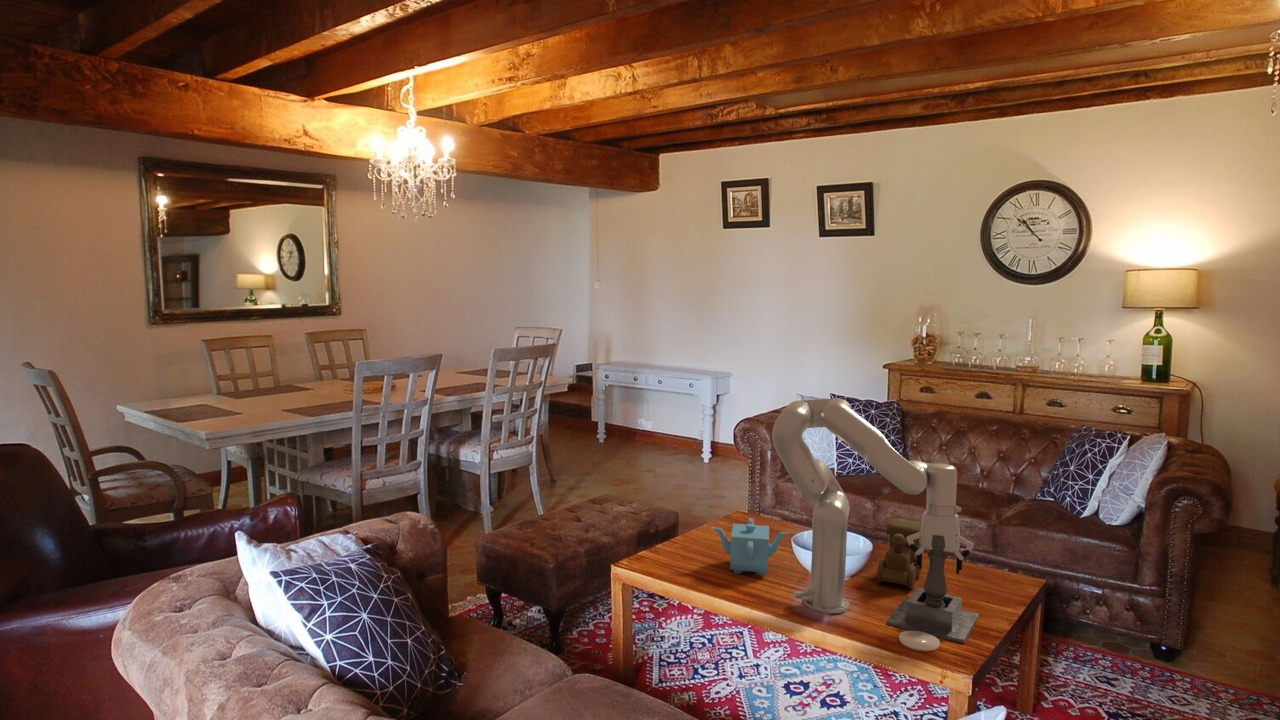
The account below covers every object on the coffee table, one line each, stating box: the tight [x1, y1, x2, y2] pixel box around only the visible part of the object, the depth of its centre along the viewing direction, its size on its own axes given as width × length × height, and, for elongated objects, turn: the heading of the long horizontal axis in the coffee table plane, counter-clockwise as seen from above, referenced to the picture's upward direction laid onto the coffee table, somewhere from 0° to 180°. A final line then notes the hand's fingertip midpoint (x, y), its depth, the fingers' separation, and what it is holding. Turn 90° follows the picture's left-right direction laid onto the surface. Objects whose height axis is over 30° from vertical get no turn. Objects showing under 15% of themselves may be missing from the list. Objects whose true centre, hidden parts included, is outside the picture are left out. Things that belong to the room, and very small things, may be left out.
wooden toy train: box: [876, 518, 922, 589], centre depth 248 cm, size 20×11×17 cm, turn 151°
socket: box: [886, 587, 980, 644], centre depth 218 cm, size 20×20×6 cm
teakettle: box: [711, 517, 790, 576], centre depth 255 cm, size 19×19×15 cm
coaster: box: [898, 630, 941, 652], centre depth 205 cm, size 10×10×1 cm
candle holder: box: [923, 535, 948, 608], centre depth 217 cm, size 6×6×25 cm
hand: (938, 570), depth 217 cm, fingers open, 9 cm apart
